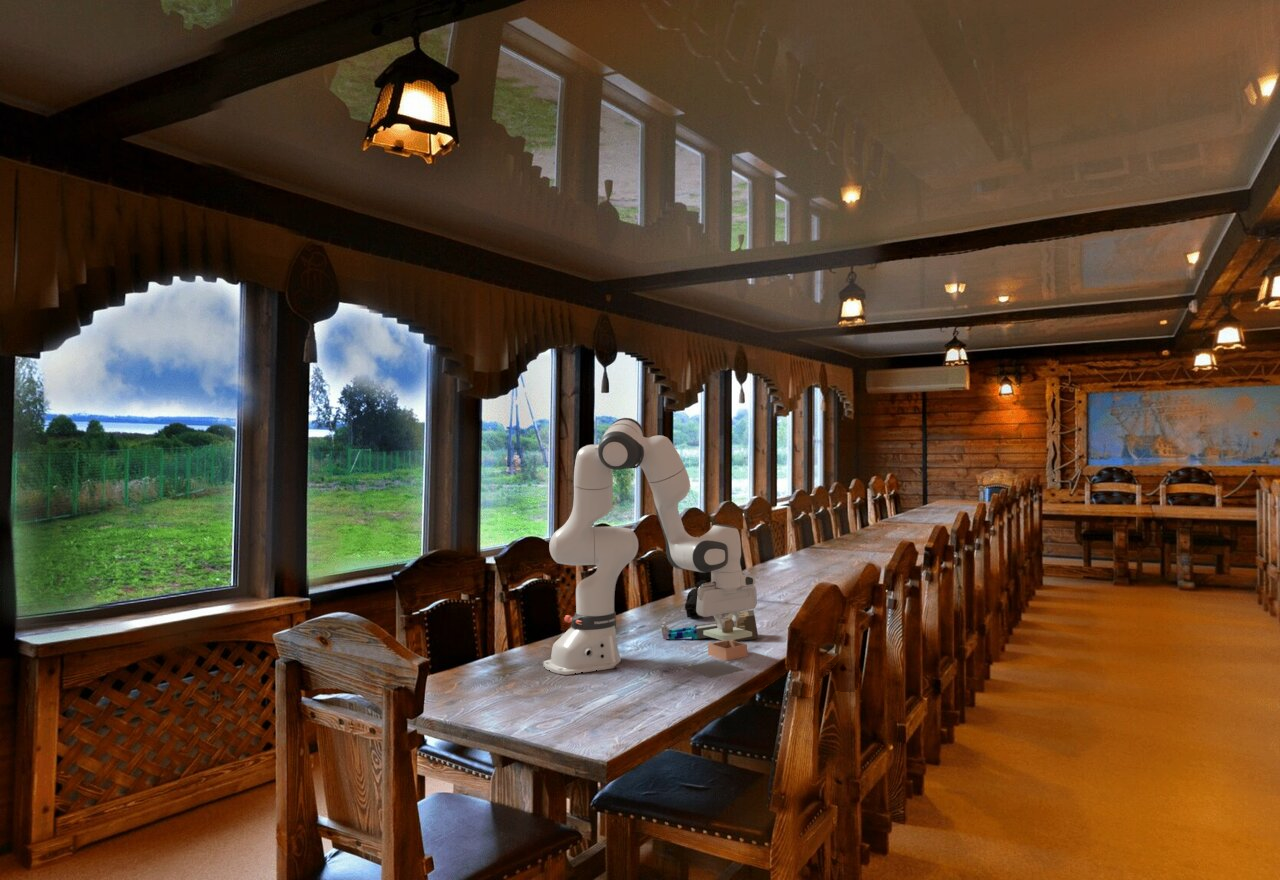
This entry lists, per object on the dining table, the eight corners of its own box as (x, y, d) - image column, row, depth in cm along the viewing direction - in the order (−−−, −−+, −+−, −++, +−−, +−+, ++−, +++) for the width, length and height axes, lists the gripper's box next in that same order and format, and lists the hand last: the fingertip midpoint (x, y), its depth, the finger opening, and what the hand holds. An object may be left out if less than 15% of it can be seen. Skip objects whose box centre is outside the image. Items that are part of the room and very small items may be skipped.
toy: (664, 615, 262) (751, 602, 259) (668, 638, 262) (755, 625, 259) (658, 634, 236) (755, 620, 233) (663, 659, 236) (760, 645, 233)
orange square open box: (726, 663, 218) (726, 649, 218) (708, 657, 224) (708, 643, 224) (747, 658, 222) (747, 644, 222) (729, 652, 229) (728, 639, 229)
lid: (725, 641, 215) (724, 625, 215) (703, 634, 224) (703, 619, 224) (752, 636, 221) (751, 620, 221) (729, 629, 229) (729, 615, 229)
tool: (685, 638, 277) (679, 602, 272) (699, 603, 297) (694, 569, 292) (706, 639, 274) (701, 603, 269) (719, 603, 294) (714, 569, 289)
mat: (711, 680, 201) (711, 677, 201) (683, 670, 211) (683, 667, 211) (745, 672, 208) (745, 669, 208) (716, 663, 218) (716, 660, 218)
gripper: (704, 585, 214) (705, 635, 214) (759, 577, 225) (760, 624, 225) (691, 582, 219) (692, 631, 219) (745, 575, 231) (746, 621, 230)
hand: (727, 627), depth 222 cm, fingers closed on lid, 3 cm apart
